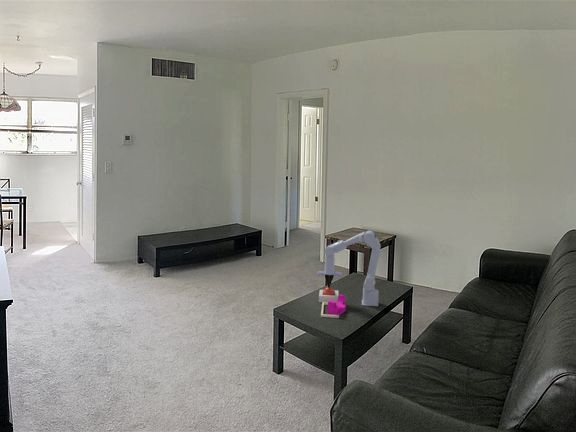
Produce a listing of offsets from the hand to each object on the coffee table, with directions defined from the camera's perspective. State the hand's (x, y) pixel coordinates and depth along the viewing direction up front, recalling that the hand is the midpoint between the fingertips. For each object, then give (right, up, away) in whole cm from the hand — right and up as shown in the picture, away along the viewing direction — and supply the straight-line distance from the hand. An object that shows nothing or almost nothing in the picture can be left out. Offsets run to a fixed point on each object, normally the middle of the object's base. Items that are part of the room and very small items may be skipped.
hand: (328, 286), depth 287 cm
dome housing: (0, -8, +1) cm, 8 cm away
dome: (0, -6, +1) cm, 6 cm away
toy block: (+4, -12, -17) cm, 21 cm away
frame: (0, -11, -17) cm, 21 cm away
